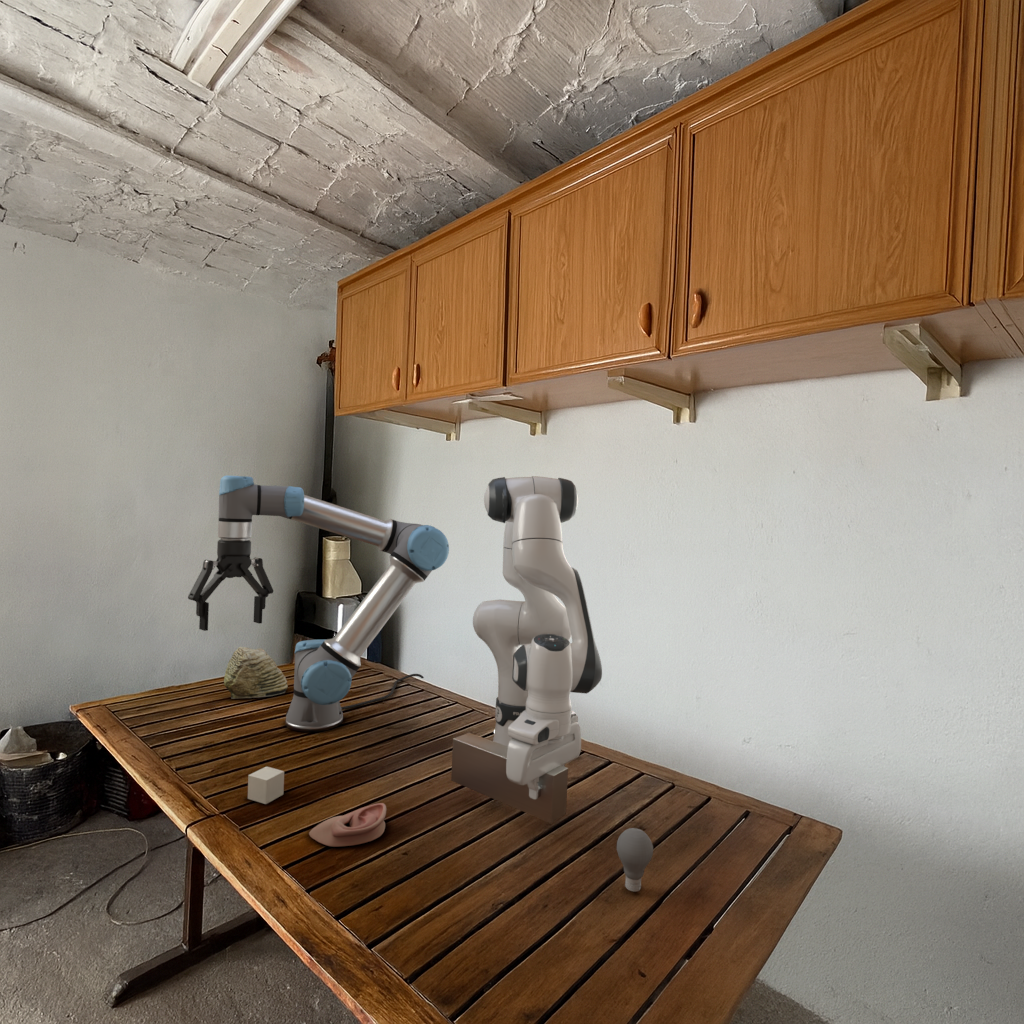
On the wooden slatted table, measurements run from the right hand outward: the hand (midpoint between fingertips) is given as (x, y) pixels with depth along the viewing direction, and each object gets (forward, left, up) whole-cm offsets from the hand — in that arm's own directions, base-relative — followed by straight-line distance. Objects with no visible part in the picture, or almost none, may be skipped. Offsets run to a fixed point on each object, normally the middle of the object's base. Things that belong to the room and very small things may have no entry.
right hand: (544, 792), depth 122 cm
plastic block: (+46, -36, -8) cm, 59 cm away
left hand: (+52, -64, +22) cm, 86 cm away
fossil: (+42, -107, -8) cm, 115 cm away
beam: (+4, -9, -4) cm, 10 cm away
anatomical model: (+34, -15, -8) cm, 38 cm away
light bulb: (-5, +21, -8) cm, 23 cm away
